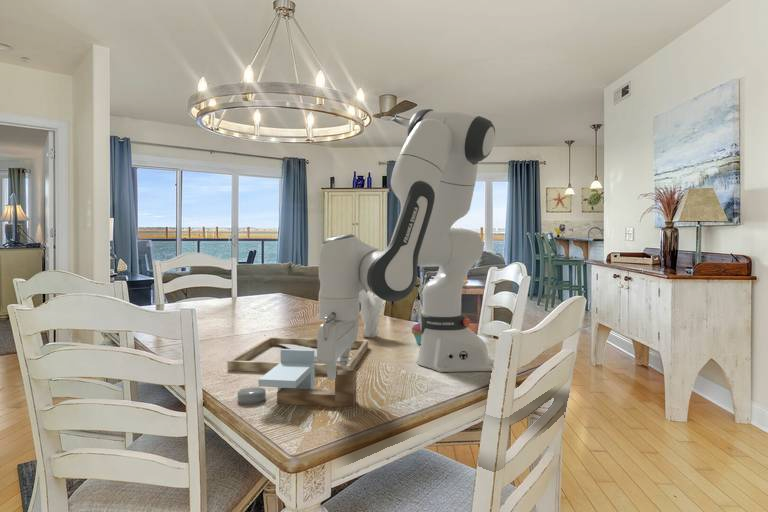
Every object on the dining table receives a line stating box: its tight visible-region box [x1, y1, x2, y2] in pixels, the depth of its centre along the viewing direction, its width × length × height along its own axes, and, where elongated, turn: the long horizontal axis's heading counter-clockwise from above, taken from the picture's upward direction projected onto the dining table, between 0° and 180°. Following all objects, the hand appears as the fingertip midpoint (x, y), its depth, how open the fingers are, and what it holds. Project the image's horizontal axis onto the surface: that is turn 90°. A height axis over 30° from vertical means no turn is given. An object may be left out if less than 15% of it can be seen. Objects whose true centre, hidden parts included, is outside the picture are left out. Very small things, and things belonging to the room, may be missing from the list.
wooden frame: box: [226, 336, 369, 375], centre depth 135 cm, size 34×30×2 cm
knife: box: [278, 343, 352, 364], centre depth 138 cm, size 37×8×2 cm, turn 40°
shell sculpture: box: [359, 290, 384, 338], centre depth 164 cm, size 8×8×18 cm
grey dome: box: [237, 386, 267, 406], centre depth 100 cm, size 6×6×2 cm
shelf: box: [258, 348, 316, 392], centre depth 100 cm, size 8×14×10 cm, turn 173°
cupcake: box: [411, 307, 422, 345], centre depth 154 cm, size 9×8×12 cm
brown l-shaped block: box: [276, 369, 357, 408], centre depth 98 cm, size 17×4×7 cm, turn 83°
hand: (338, 371), depth 98 cm, fingers open, 8 cm apart
